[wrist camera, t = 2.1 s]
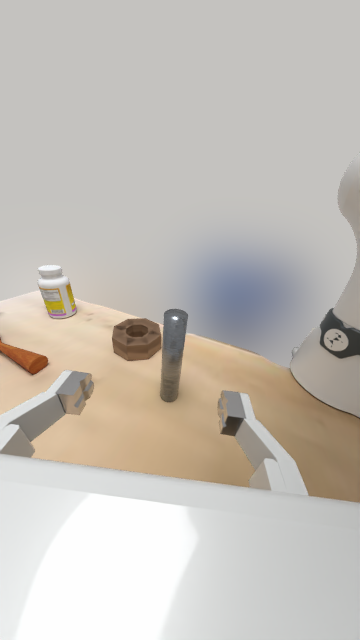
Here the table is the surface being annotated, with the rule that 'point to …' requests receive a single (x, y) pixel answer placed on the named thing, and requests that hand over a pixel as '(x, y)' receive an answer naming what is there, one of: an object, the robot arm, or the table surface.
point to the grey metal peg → (172, 352)
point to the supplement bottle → (56, 292)
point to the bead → (136, 339)
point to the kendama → (25, 358)
